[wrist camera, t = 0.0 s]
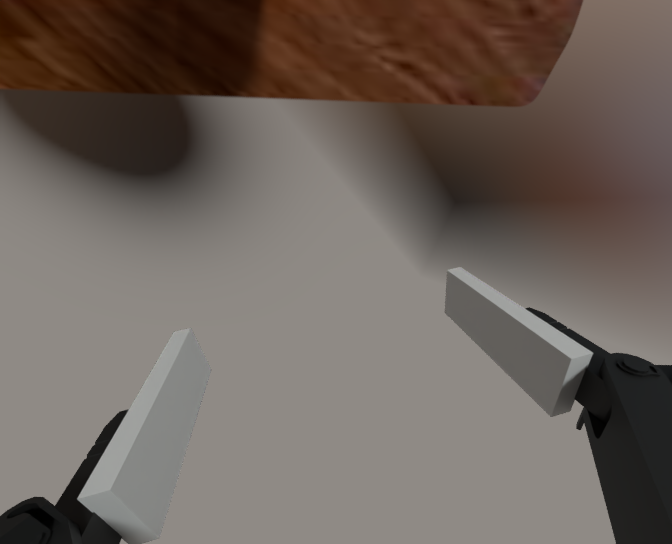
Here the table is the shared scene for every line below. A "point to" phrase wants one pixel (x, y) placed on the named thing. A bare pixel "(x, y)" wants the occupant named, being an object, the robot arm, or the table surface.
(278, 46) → the table surface
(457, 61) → the table surface
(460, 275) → the robot arm
